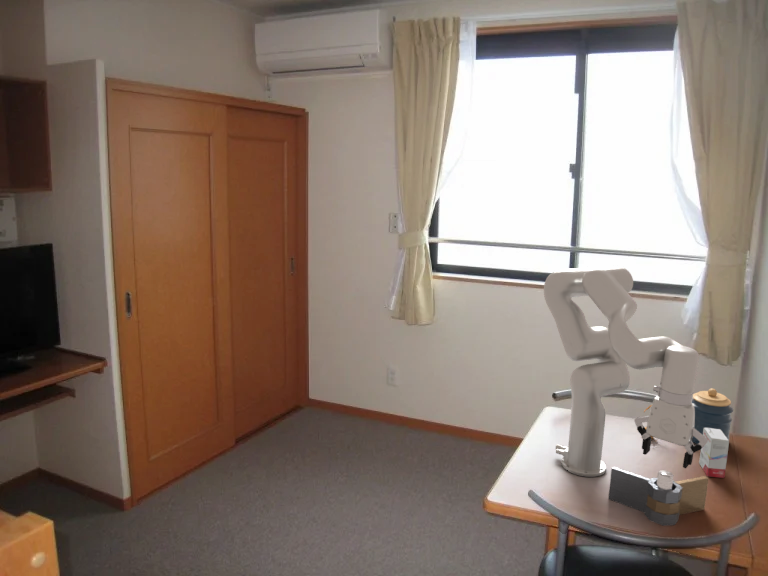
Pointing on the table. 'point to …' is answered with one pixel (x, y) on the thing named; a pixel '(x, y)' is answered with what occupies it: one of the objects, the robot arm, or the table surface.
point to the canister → (711, 412)
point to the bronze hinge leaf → (684, 498)
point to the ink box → (714, 453)
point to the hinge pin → (665, 480)
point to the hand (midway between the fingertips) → (665, 459)
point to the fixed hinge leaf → (643, 494)
